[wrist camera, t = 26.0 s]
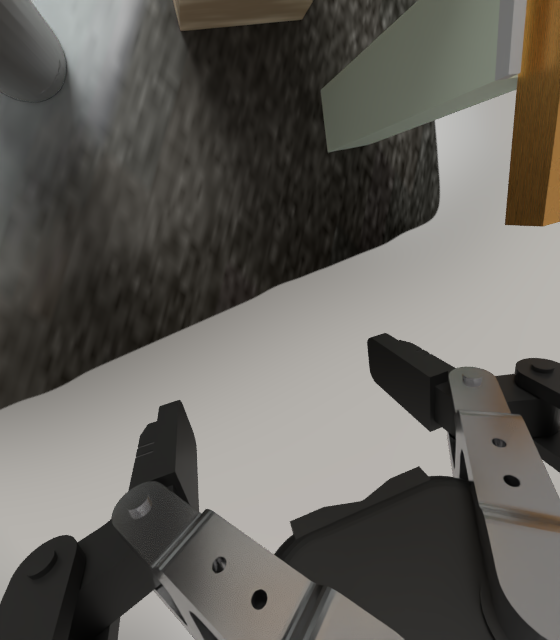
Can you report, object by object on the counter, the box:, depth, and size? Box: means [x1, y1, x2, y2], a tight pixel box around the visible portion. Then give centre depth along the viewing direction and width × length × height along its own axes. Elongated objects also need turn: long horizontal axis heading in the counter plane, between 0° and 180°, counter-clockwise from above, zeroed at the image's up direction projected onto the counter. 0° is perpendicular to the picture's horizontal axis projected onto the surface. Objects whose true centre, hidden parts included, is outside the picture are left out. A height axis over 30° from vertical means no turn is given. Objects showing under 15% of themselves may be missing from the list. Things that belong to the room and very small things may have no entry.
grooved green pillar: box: [320, 0, 527, 152], centre depth 33 cm, size 8×7×29 cm
